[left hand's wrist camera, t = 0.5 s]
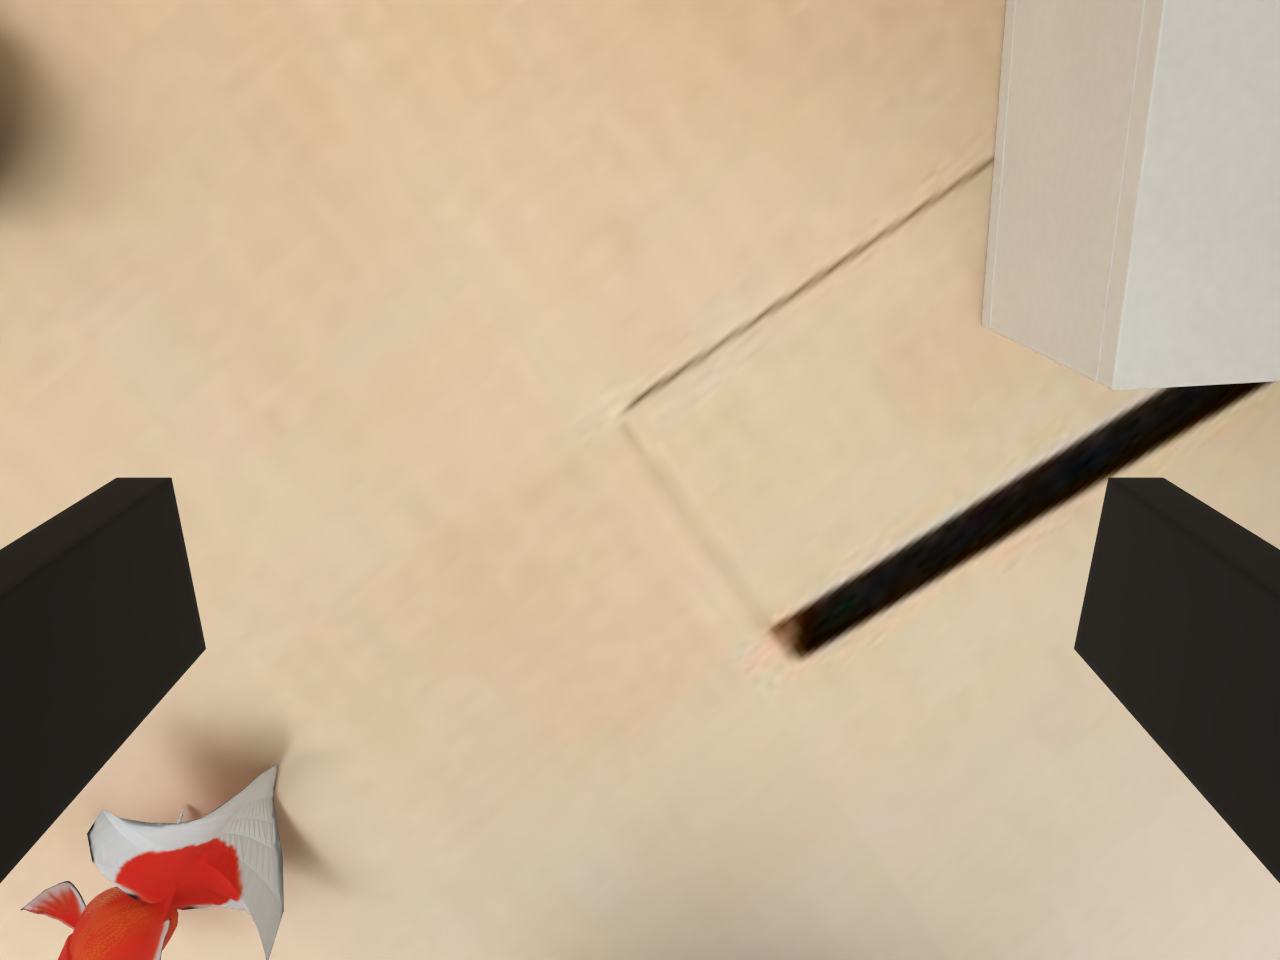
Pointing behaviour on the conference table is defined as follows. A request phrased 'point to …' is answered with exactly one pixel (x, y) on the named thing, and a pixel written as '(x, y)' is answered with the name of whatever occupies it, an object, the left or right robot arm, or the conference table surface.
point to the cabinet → (1139, 190)
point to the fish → (174, 877)
